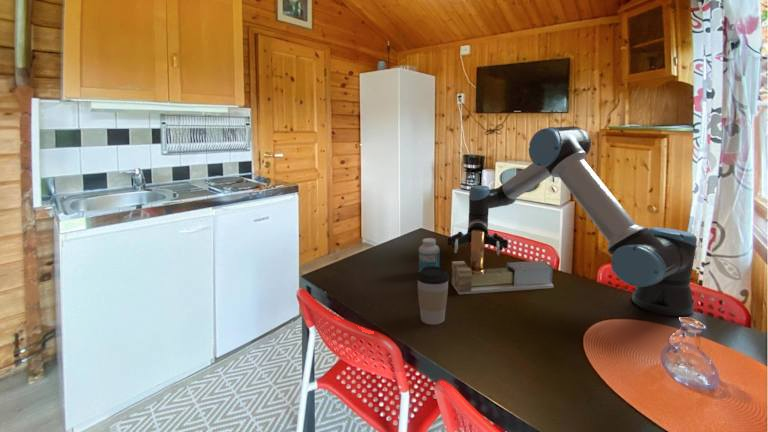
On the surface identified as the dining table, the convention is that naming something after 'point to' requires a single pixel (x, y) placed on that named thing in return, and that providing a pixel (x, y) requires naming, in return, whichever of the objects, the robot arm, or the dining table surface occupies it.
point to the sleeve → (531, 273)
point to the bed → (502, 288)
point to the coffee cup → (432, 294)
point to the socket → (461, 276)
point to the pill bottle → (429, 254)
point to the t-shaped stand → (478, 273)
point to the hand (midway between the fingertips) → (476, 250)
